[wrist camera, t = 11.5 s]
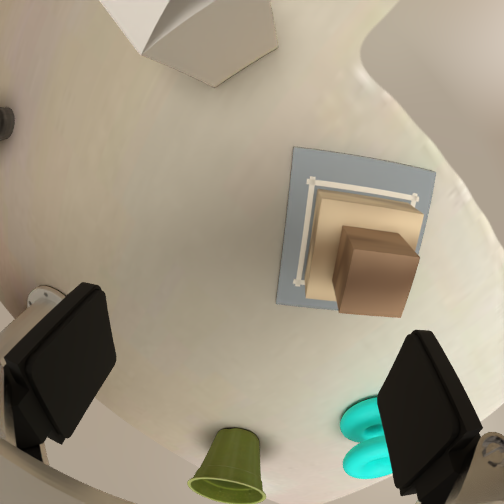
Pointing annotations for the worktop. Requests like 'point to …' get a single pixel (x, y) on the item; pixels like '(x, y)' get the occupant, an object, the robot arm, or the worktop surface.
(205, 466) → the plant pot
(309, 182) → the board
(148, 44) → the milk carton
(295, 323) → the worktop surface
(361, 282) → the walnut block
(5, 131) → the beverage cup
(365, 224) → the maple slab
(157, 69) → the worktop surface
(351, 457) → the donuts
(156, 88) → the worktop surface
